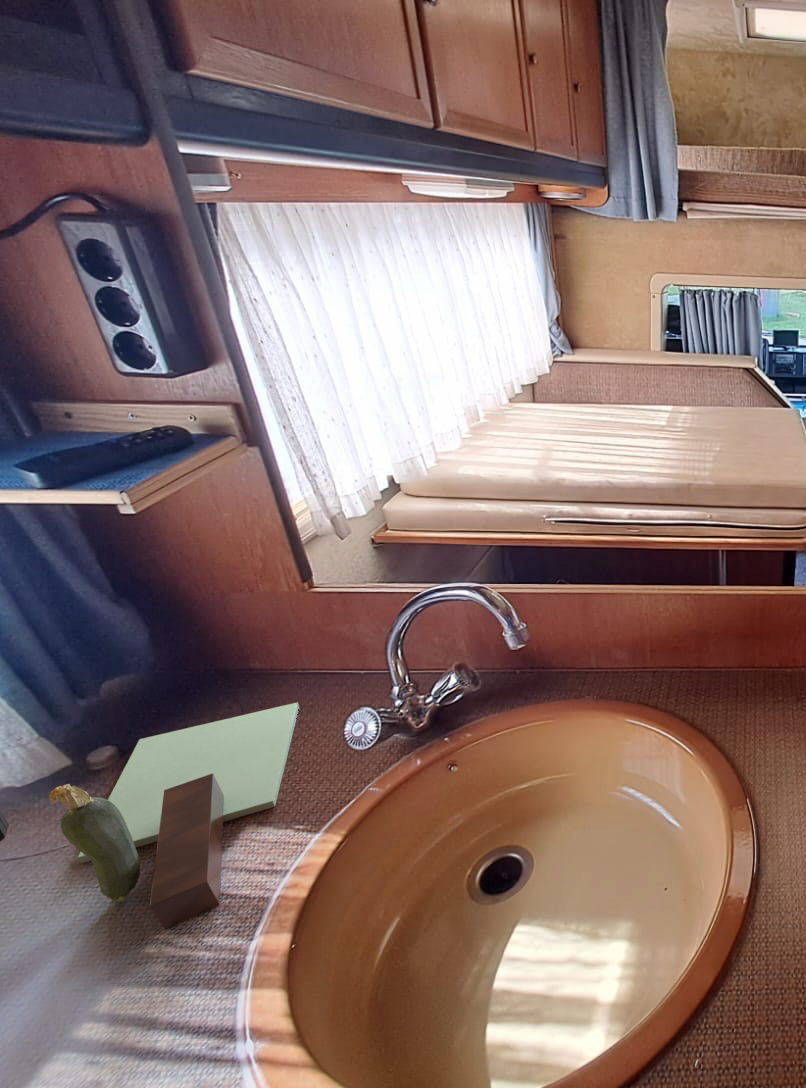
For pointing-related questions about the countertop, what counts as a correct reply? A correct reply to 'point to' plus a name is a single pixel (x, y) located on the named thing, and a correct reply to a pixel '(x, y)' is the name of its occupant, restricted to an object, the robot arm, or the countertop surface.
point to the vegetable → (100, 839)
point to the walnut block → (188, 851)
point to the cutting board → (206, 767)
